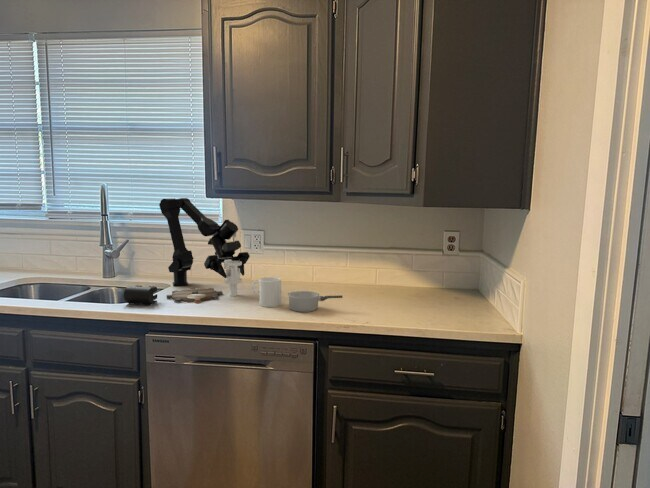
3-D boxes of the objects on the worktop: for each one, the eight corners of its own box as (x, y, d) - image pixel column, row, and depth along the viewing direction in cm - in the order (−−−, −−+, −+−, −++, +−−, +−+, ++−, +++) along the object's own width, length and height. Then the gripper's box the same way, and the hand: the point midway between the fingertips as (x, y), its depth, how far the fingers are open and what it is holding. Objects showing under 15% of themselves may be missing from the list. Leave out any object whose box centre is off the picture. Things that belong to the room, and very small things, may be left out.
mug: (256, 300, 173) (255, 275, 172) (284, 303, 169) (284, 277, 168) (246, 305, 165) (246, 279, 164) (275, 308, 162) (275, 282, 160)
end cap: (123, 305, 163) (122, 287, 162) (134, 301, 170) (133, 283, 169) (148, 307, 162) (148, 289, 161) (158, 302, 168) (158, 285, 168)
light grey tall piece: (222, 294, 182) (221, 258, 180) (238, 292, 185) (237, 257, 183) (228, 298, 176) (227, 261, 174) (244, 295, 179) (244, 259, 178)
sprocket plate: (165, 292, 184) (165, 287, 183) (218, 288, 192) (218, 284, 191) (167, 305, 164) (167, 300, 163) (226, 300, 172) (226, 295, 172)
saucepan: (341, 315, 154) (341, 299, 154) (285, 313, 156) (285, 297, 155) (342, 306, 166) (343, 292, 165) (290, 304, 167) (290, 290, 167)
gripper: (206, 235, 174) (220, 267, 167) (247, 233, 187) (261, 262, 180) (198, 253, 181) (211, 283, 174) (237, 249, 193) (251, 277, 187)
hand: (234, 276), depth 178 cm, fingers open, 8 cm apart
